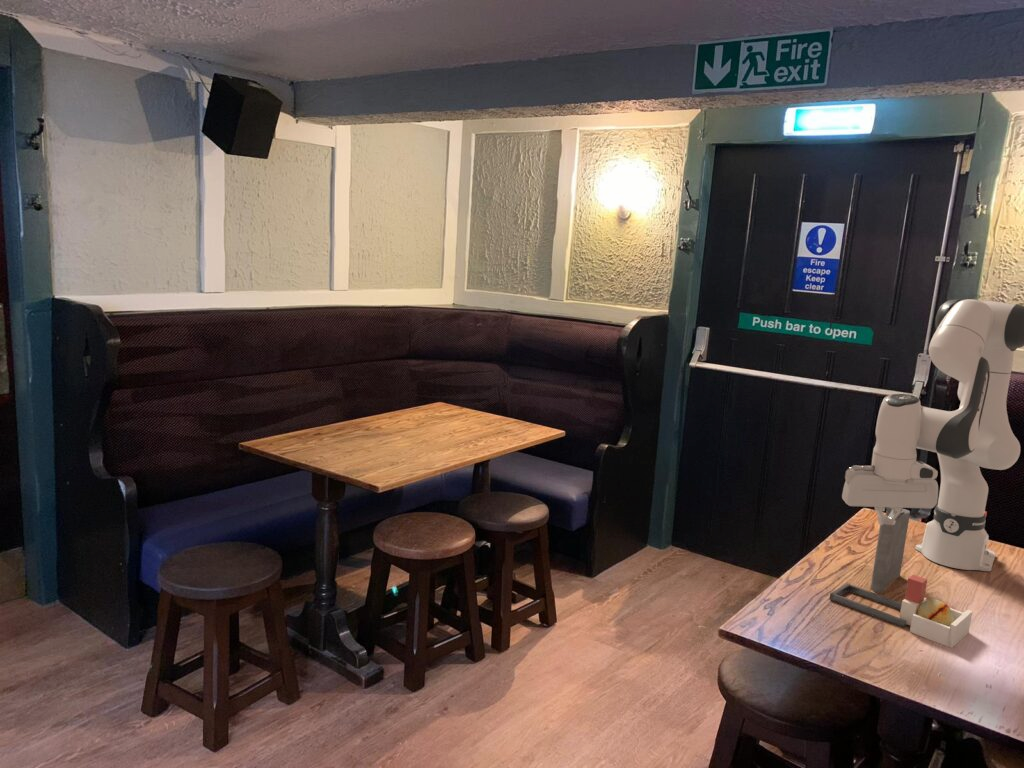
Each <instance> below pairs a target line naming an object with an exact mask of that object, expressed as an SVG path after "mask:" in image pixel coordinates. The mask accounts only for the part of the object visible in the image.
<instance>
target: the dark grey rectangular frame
mask: <svg viewBox="0 0 1024 768" xmlns="http://www.w3.org/2000/svg"><path fill="white" fill-rule="evenodd" d="M848 592H850V593H852V594H855V595H858V596H861V597H863V598H866V599H869V600H871V599H872V601H874V602H878V603H879V602H880V603H879V604H883V605H886V606H887V605H888V606H887V607H890V606H891V607H890V608H893V609H897V610H898V609H899V610H898V611H901V605H902V602H900V601H897V600H895V599H892V598H889V597H886V596H884V595H881V594H878V593H877V592H874V591H869V590H867V589H864V588H862V587H859V586H856V585H853V584H850V583H845V584H843V585H841V586H840V587H838V588H837V589H835V590H834V591H832V592H830V594H829V601H833V602H835V603H838V604H840V605H843V606H846V607H848V608H851V609H854V610H856V611H858V610H859V612H861V613H864V614H866V613H867V615H869V614H870V615H869V616H871V615H873V616H872V617H874V616H875V617H874V618H877V619H879V618H880V620H882V619H883V620H882V621H885V622H887V621H888V623H890V624H892V623H893V625H895V624H896V625H895V626H897V627H900V626H901V627H900V628H902V629H905V628H906V625H907V624H906V620H903V619H901V618H900V617H899V616H898V617H897V616H895V615H892V614H890V613H887V612H884V611H883V610H879V609H876V608H874V607H871V606H868V605H866V604H863V603H860V602H858V601H855V600H853V599H851V598H847V597H845V596H843V595H844V594H846V593H848Z"/></svg>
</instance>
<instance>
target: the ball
mask: <svg viewBox="0 0 1024 768" xmlns="http://www.w3.org/2000/svg"><path fill="white" fill-rule="evenodd" d="M950 608H951V607H950V606H949V605H947V604H946V603H945V602H943V601H941V600H939V599H926V601H925V602H923V603H922V604H921V605H920V606H919V608H918V611H917V615H918V616H921V617H924V618H927V619H929V620H932V621H935V622H937V623H940V624H943V625H946V626H948V627H950V624H951V623H953V620H954V617H953V613H952V611H951V609H950Z"/></svg>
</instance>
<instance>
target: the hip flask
mask: <svg viewBox="0 0 1024 768" xmlns="http://www.w3.org/2000/svg"><path fill="white" fill-rule="evenodd" d="M885 510H886V512H885V514H883V515H884V516H888V515H889V514H890V513H891V511H892V509H891V507H885ZM910 515H911V511H910V510H908V509H906V508H901V512H900V514H899V515H898V516H897V517H896V518H895V521H894V525H880V524H879V530H878V536H877V537H878V538H877V543H876V551H875V556H874V562H873V569H872V576H871V582H870V588H869V589H870V590H871V591H872V590H873V591H872V592H874V591H875V592H874V593H878V592H880V593H879V594H881V593H883V594H884V593H885V591H886V589H887V587H888V586H889V584H890V583H892V582H893V581H895V580H897V579H899V578H900V577H901V571H902V566H903V558H904V553H905V552H904V551H905V547H906V541H907V534H908V529H909V522H910V517H911V516H910Z"/></svg>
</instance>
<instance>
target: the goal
mask: <svg viewBox="0 0 1024 768" xmlns="http://www.w3.org/2000/svg"><path fill="white" fill-rule="evenodd" d="M949 608H950V609H951V611H952V613H953V617H954V620H953V623H951V624H950V627H948V626H946V625H943V624H940V623H937V622H935V621H932V620H929V619H927V618H924V617H921V616H918V615H916V614H913V615H912V621H911V626H910V629H909V632H910V633H912V634H915V635H917V636H920V637H922V638H925V639H927V640H930V641H933V642H935V643H938V644H940V645H943V646H946V647H948V648H951V649H953V648H954V647H955V646H956V645H957V644H958V643H959V642H960V641H961V640H963V638H964V637H966V636H967V635H968V634H969V632H970V627H971V621H972V616H973V611H972V610H970V609H966V610H965V611H964V612H963V611H960V610H958V609H954V608H952V607H949Z"/></svg>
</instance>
